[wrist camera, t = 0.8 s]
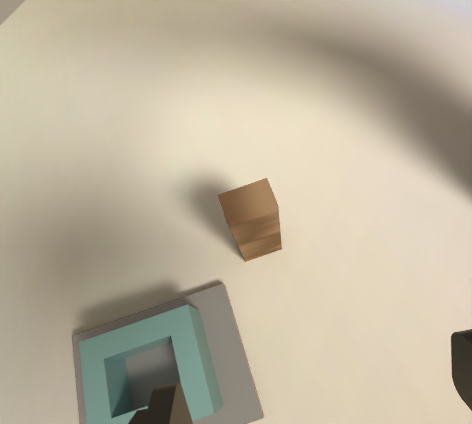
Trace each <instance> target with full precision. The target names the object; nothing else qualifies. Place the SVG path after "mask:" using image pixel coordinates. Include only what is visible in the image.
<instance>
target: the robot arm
mask: <svg viewBox="0 0 472 424" xmlns="http://www.w3.org/2000/svg"><path fill="white" fill-rule="evenodd" d="M451 356H452V378H453V382H454V385H455V387H456V390H457V392H458V393H459V395H460V397H461V398H462V400H463V401H464V402H465V403H466V404H467V406H468V407H469V408H470V409H471V411H472V329H470V330H465V331H460V332H455V333H453V334H452V336H451ZM128 424H193V422H192V418H191V415H190V412H189V408H188V405H187V402H186V398H185V395H184V392H183V389H182V386H181V384H180V383H175V384H169V385H164V386H159V387H155V388H154V389H153V391H152V394H151V397H150V401H149V405H148V409H143V410H137V411H136V413H135V414H134V416H133V417H132V419H131V420H130V421H129V423H128Z"/></svg>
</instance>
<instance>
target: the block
mask: <svg viewBox="0 0 472 424" xmlns="http://www.w3.org/2000/svg"><path fill="white" fill-rule="evenodd" d="M218 196H219V200H220V203H221V206H222V209H223V212H224V215H225V218H226V221H227V224H228V226H229V228H230V230H231V232H232V234H233V236H234V239H235V241H236V243H237V245H238V247H239V249H240V251H241V254H242V256H243V258H244V260H245V262H246V261H249V260H252V259H255V258H257V257H260V256H263V255H266V254H269V253H272V252H275V251H277V250H280V249H282V247H281V235H280V222H279V210H278V204H277V201H276V199H275V197H274V194H273V192H272V189H271V187H270V184H269V182H268V180H267V178H265V179H262V180H260V181H257V182H254V183H251V184H248V185H245V186H243V187H240V188H237V189H234V190H231V191H228V192H226V193H223V194H220V195H218Z"/></svg>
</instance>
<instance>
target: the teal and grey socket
mask: <svg viewBox="0 0 472 424" xmlns="http://www.w3.org/2000/svg"><path fill="white" fill-rule="evenodd" d="M72 342H73V353H74V364H75V376H76V387H77V398H78V409H79V421H80V424H128V423H129V421H130V420H131V419H132V417H133V416H134V414H135V413H136V411H137V410H143V409H148V405H149V401H150V397H151V394H152V391H153V389H154V388H155V387H159V386H164V385H169V384H175V383H180V384H181V386H182V389H183V392H184V395H185V398H186V402H187V405H188V408H189V412H190V415H191V418H192V422H193V424H248V423H250V422H253V421H256V420H259V419H262V418H263V417H264V414H263V411H262V408H261V404H260V401H259V398H258V394H257V391H256V388H255V384H254V381H253V377H252V374H251V371H250V367H249V364H248V361H247V357H246V354H245V351H244V347H243V344H242V340H241V337H240V334H239V330H238V327H237V324H236V320H235V317H234V314H233V310H232V307H231V304H230V300H229V297H228V293H227V290H226V287H225V285H224V284H223V283H222V284H220V285H217V286H214V287H211V288H208V289H205V290H202V291H200V292H197V293H194V294H191V295H188V296H185V297H182V298H180V299H177V300H174V301H171V302H168V303H165V304H162V305H159V306H157V307H154V308H151V309H148V310H145V311H142V312H139V313H137V314H134V315H131V316H128V317H125V318H122V319H119V320H116V321H114V322H111V323H108V324H105V325H102V326H99V327H96V328H94V329H91V330H88V331H85V332H82V333H79V334H76V335H73V336H72Z"/></svg>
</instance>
